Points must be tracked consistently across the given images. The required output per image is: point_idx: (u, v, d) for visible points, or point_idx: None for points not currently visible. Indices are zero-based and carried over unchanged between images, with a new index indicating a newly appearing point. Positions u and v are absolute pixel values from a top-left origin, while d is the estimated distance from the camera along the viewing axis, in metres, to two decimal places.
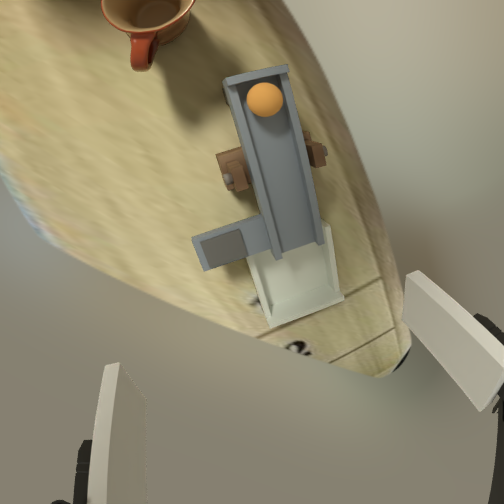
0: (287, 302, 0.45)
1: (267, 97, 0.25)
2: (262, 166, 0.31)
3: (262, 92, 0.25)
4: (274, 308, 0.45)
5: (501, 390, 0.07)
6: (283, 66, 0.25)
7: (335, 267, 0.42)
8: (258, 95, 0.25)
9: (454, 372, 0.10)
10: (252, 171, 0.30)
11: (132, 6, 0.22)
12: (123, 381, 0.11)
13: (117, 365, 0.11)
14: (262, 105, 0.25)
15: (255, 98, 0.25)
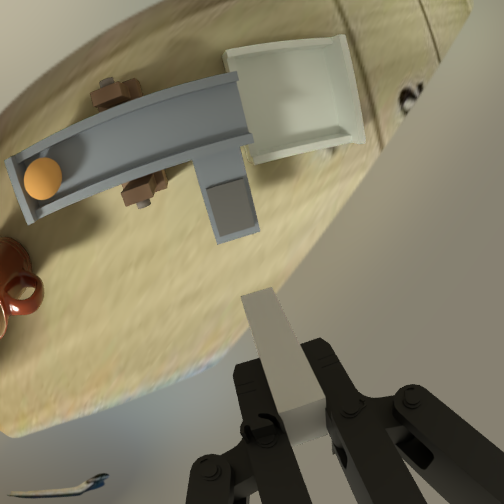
0: (338, 107, 0.29)
1: (33, 185, 0.18)
2: (125, 162, 0.22)
3: (30, 190, 0.18)
4: (343, 126, 0.30)
5: (327, 425, 0.09)
6: (6, 164, 0.18)
7: (293, 41, 0.24)
8: (34, 194, 0.19)
9: None
10: (126, 180, 0.22)
11: None
12: None
13: (255, 294, 0.14)
14: (43, 188, 0.19)
15: (38, 196, 0.19)
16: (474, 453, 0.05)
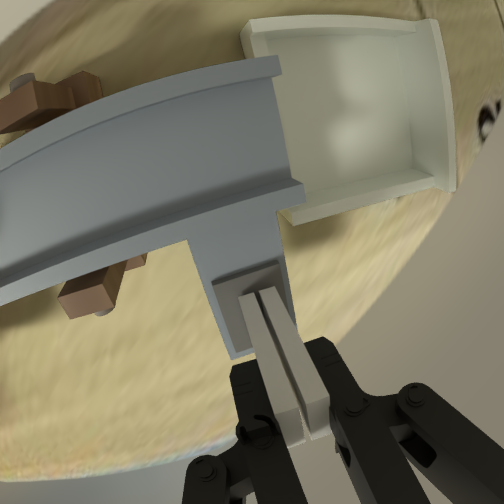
0: (415, 130, 0.18)
1: None
2: (60, 238, 0.11)
3: None
4: (420, 159, 0.19)
5: (331, 424, 0.09)
6: None
7: (361, 18, 0.13)
8: None
9: (293, 393, 0.11)
10: (64, 279, 0.11)
11: None
12: None
13: (252, 295, 0.14)
14: None
15: None
16: (477, 451, 0.05)
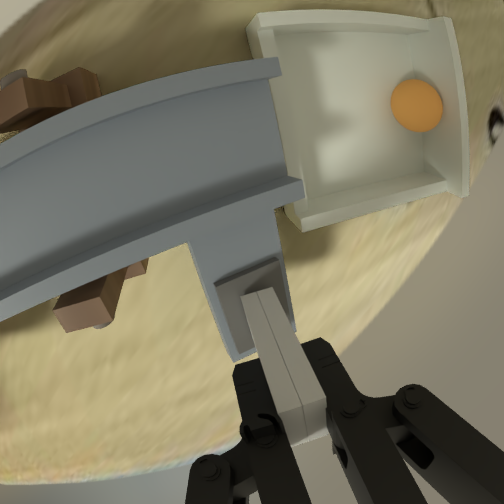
0: (427, 132, 0.17)
1: None
2: (56, 247, 0.10)
3: None
4: (432, 162, 0.18)
5: (328, 425, 0.09)
6: None
7: (374, 14, 0.12)
8: None
9: None
10: (63, 290, 0.10)
11: None
12: None
13: (255, 294, 0.14)
14: (394, 116, 0.16)
15: None
16: (474, 453, 0.05)
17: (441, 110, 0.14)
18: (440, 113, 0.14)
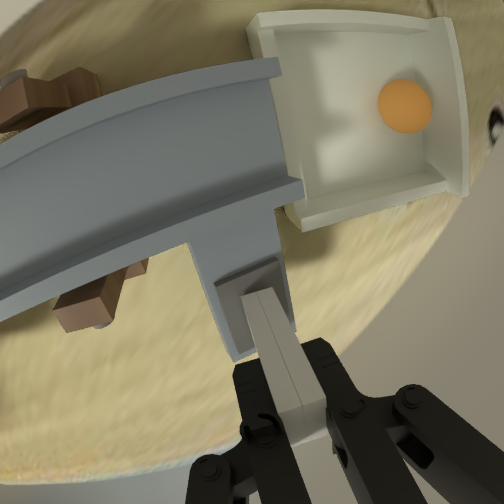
0: (427, 132, 0.17)
1: None
2: (56, 247, 0.10)
3: None
4: (432, 162, 0.18)
5: (327, 425, 0.09)
6: None
7: (374, 14, 0.12)
8: None
9: None
10: (63, 290, 0.10)
11: None
12: None
13: (255, 294, 0.14)
14: None
15: None
16: (474, 453, 0.05)
17: (420, 112, 0.14)
18: (418, 115, 0.14)
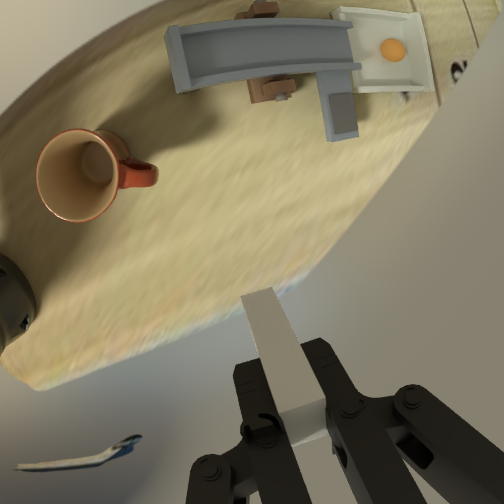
0: (412, 65, 0.32)
1: None
2: (274, 61, 0.25)
3: None
4: (415, 80, 0.33)
5: (327, 425, 0.09)
6: (171, 30, 0.19)
7: (384, 11, 0.27)
8: None
9: None
10: (281, 72, 0.25)
11: (86, 187, 0.30)
12: None
13: (255, 294, 0.14)
14: None
15: None
16: (474, 453, 0.05)
17: (391, 50, 0.29)
18: (390, 51, 0.29)
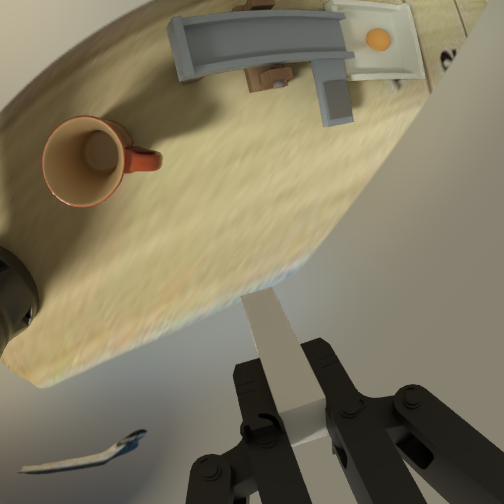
0: (402, 54, 0.33)
1: None
2: (271, 51, 0.26)
3: None
4: (406, 68, 0.34)
5: (327, 425, 0.09)
6: (174, 21, 0.20)
7: (374, 3, 0.27)
8: None
9: None
10: (278, 60, 0.26)
11: (90, 176, 0.30)
12: None
13: (255, 294, 0.14)
14: None
15: None
16: (474, 453, 0.05)
17: (370, 40, 0.30)
18: (370, 41, 0.30)
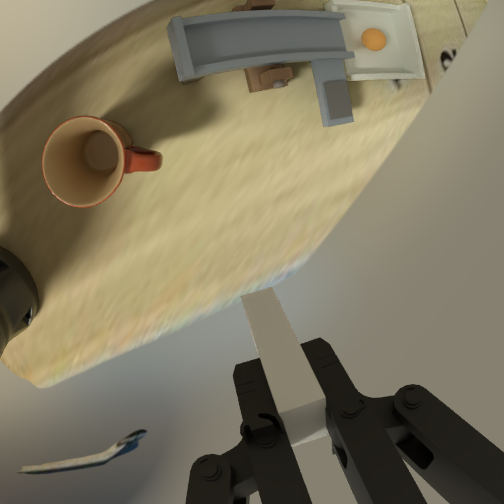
0: (402, 54, 0.33)
1: None
2: (271, 51, 0.26)
3: None
4: (406, 68, 0.34)
5: (327, 425, 0.09)
6: (174, 21, 0.20)
7: (374, 3, 0.27)
8: (385, 44, 0.30)
9: None
10: (278, 60, 0.26)
11: (90, 176, 0.30)
12: None
13: (255, 294, 0.14)
14: None
15: (384, 46, 0.31)
16: (474, 453, 0.05)
17: (362, 41, 0.31)
18: (363, 42, 0.31)
